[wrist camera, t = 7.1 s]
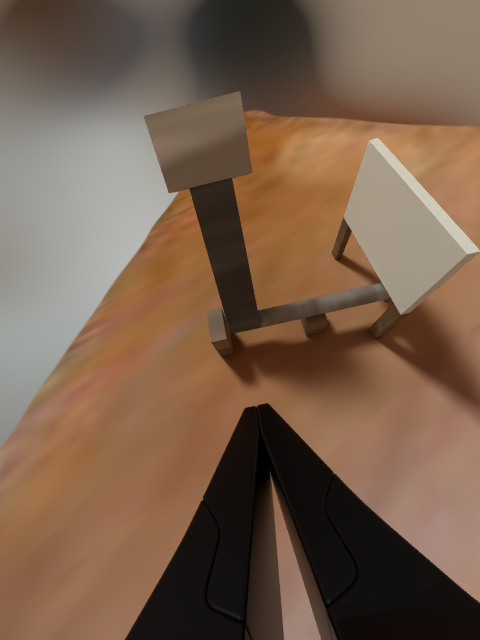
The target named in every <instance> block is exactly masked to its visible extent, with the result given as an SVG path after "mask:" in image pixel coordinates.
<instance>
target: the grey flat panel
mask: <svg viewBox="0 0 480 640" xmlns="http://www.w3.org/2000/svg"><path fill="white" fill-rule="evenodd" d="M344 219H345V220H346V222H347V224H348V226H349V227H350V229H351V231H352V232H353V234H354V236H355V238H356V239H357V241H358V243H359V244H360V246H361V248H362V249H363V251H364V253H365V255H366V256H367V258H368V260H369V261H370V263H371V265H372V267H373V268H374V270H375V272H376V273H377V275H378V277H379V278H380V280H381V282H382V284H383V285H384V287H385V289H386V290H387V292H388V294H389V296H390V297H391V299H392V301H393V302H394V304H395V306H396V308H397V309H398V311H399V313H400V314H401V315H402V314H407V313H410V312H411V311H412V310H413V309H415V308H416V307H417V306H418V305H419V304H420V303H421V302H423V301H424V300H425V299H426V298H427V297H428V296H430V295H431V294H432V293H433V292H434V291H435V290H437V289H438V288H439V287H440V286H441V285H442V284H443V283H445V282H446V281H447V280H448V279H449V278H450V277H452V276H453V275H454V274H455V273H456V272H457V271H459V270H460V269H461V268H462V267H463V266H464V265H465V264H467V263H468V262H469V261H470V260H471V259H472V258H474V257H475V256H476V255H477V254H478V253H479V252H480V250H479V249H478V248H477V247H476V246H475V244H474V243H473V242H472V241H471V240H470V239H469V238H468V237H467V236H466V235H465V233H464V232H463V231H462V230H461V229H460V228H459V227H458V226H457V225H456V223H455V222H454V221H453V220H452V219H451V218H450V217H449V216H448V215H447V214H446V212H445V211H444V210H443V209H442V208H441V207H440V206H439V205H438V204H437V202H436V201H435V200H434V199H433V198H432V197H431V196H430V195H429V194H428V193H427V191H426V190H425V189H424V188H423V187H422V186H421V185H420V184H419V183H418V181H417V180H416V179H415V178H414V177H413V176H412V175H411V174H410V173H409V172H408V170H407V169H406V168H405V167H404V166H403V165H402V164H401V163H400V162H399V160H398V159H397V158H396V157H395V156H394V155H393V154H392V153H391V152H390V151H389V149H388V148H387V147H386V146H385V145H384V144H383V143H382V142H381V141H380V139H379V138H376V139H372V140H369V142H368V145H367V148H366V151H365V154H364V157H363V160H362V163H361V166H360V169H359V172H358V175H357V178H356V181H355V184H354V187H353V190H352V193H351V196H350V199H349V202H348V205H347V208H346V211H345V214H344Z"/></svg>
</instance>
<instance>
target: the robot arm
mask: <svg viewBox="0 0 480 640" xmlns="http://www.w3.org/2000/svg"><path fill="white" fill-rule="evenodd" d="M270 473H271V475H270ZM271 477H272V480H273V484H274V487H275V491H276V494H277V497H278V500H279V504H280V507H281V510H282V513H283V517H284V520H285V523H286V526H287V530H288V533H289V536H290V539H291V543H292V546H293V549H294V552H295V556H296V559H297V562H298V565H299V568H300V572H301V575H302V578H303V581H304V585H305V588H306V591H307V594H308V598H309V601H310V604H311V607H312V611H313V614H314V617H315V620H316V624H317V627H318V630H319V633H320V637H321V640H480V603H479V602H478V601H477V600H475V599H474V598H473V597H472V596H470V595H469V594H468V593H467V592H466V591H464V590H463V589H462V588H461V587H460V586H459V585H457V584H456V583H455V582H454V581H453V580H452V579H450V578H449V577H448V576H447V575H446V574H445V573H443V572H442V571H441V570H440V569H439V568H438V567H436V566H435V565H434V564H433V563H432V562H431V561H430V560H428V559H427V558H426V557H425V556H424V555H423V554H421V553H420V552H419V551H418V550H417V549H416V548H415V547H413V546H412V545H411V544H410V543H409V542H408V541H406V540H405V539H404V538H403V537H402V536H401V535H399V534H398V533H397V532H396V531H395V530H394V529H393V528H391V527H390V526H389V525H388V524H387V523H386V522H385V521H383V520H382V519H381V518H380V517H379V516H378V515H377V514H376V513H375V512H373V511H372V510H371V509H370V508H369V507H368V506H367V505H366V504H365V503H364V502H363V501H362V500H361V499H360V498H359V497H358V496H357V495H356V494H355V493H354V492H353V491H352V490H350V489H349V488H348V487H347V486H346V484H345V483H344V482H343V481H342V480H341V479H340V478H339V477H338V476H337V475H336V474H334V473H333V471H332V470H331V469H330V468H329V467H328V466H327V465H326V464H325V463H324V462H323V460H322V459H321V458H320V457H319V456H318V455H317V454H316V453H315V452H314V451H313V450H312V449H311V448H310V447H309V446H308V445H307V444H306V443H305V442H304V440H303V439H302V438H301V437H300V436H299V435H298V434H297V433H296V432H295V431H294V430H293V429H292V428H291V427H290V426H289V425H288V424H287V423H286V422H285V420H284V419H283V418H282V417H281V416H280V415H279V414H278V413H277V412H276V411H275V410H274V409H273V408H272V407H271V406H270V405H269V404H268V403H266V404H261V405H258V406H257V407H256V406H252V407H247V408H245V409H244V411H243V413H242V415H241V417H240V419H239V421H238V424H237V426H236V428H235V430H234V432H233V434H232V436H231V439H230V441H229V443H228V445H227V447H226V449H225V451H224V454H223V456H222V458H221V460H220V462H219V464H218V466H217V468H216V471H215V473H214V475H213V477H212V479H211V481H210V483H209V486H208V488H207V490H206V492H205V494H204V496H203V500H202V501H201V502H200V504H199V507H198V509H197V511H196V513H195V515H194V517H193V519H192V521H191V523H190V525H189V527H188V529H187V531H186V533H185V535H184V537H183V539H182V541H181V543H180V545H179V546H178V548H177V550H176V552H175V554H174V555H173V557H172V559H171V561H170V563H169V564H168V566H167V568H166V570H165V571H164V573H163V575H162V577H161V578H160V580H159V582H158V583H157V585H156V587H155V589H154V590H153V592H152V594H151V596H150V597H149V599H148V601H147V602H146V604H145V606H144V608H143V609H142V611H141V613H140V615H139V616H138V618H137V620H136V621H135V623H134V625H133V627H132V628H131V630H130V632H129V634H128V635H127V637H126V639H125V640H284V634H283V621H282V608H281V596H280V583H279V570H278V558H277V545H276V533H275V520H274V507H273V495H272V483H271Z"/></svg>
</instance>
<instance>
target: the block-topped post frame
mask: <svg viewBox="0 0 480 640" xmlns="http://www.w3.org/2000/svg"><path fill="white" fill-rule="evenodd" d="M144 118H145V121H146V124H147V127H148V130H149V134H150V137H151V140H152V143H153V146H154V149H155V152H156V155H157V158H158V161H159V164H160V167H161V170H162V173H163V176H164V179H165V183H166V185H167V189H168V192H169V193H172V192H178V191H182V190H186V189H190V192H191V196H192V200H193V203H194V207H195V210H196V214H197V217H198V221H199V224H200V228H201V231H202V235H203V238H204V242H205V246H206V249H207V253H208V256H209V260H210V263H211V267H212V270H213V274H214V277H215V281H216V284H217V288H218V292H219V295H220V299H221V302H222V306H223V309H224V313H225V316H226V320H227V323H228V327H229V330H230V334H233V333H238V332H242V331H248V330H253V329H257V328H262V327H266V326H270V325H275V324H279V323H284V322H288V321H293V320H297V319H302V318H306V317H310V316H315V315H319V314H324V313H328V312H333V311H337V310H342V309H346V308H351V307H355V306H359V305H364V304H368V303H373V302H377V301H382V300H383V301H385V302H389V301H392V299H391V297H390V296H389V294H388V292H387V290H386V289H385V287H384V285H383V284H382V282H381V281H380V282H379V283H378V284H373V285H369V286H365V287H360V288H356V289H351V290H347V291H343V292H338V293H334V294H329V295H325V296H321V297H316V298H312V299H307V300H303V301H299V302H294V303H290V304H285V305H281V306H277V307H272V308H268V309H263V310H259V311H258V310H257V305H256V300H255V295H254V290H253V284H252V279H251V274H250V269H249V264H248V259H247V253H246V248H245V243H244V238H243V233H242V227H241V222H240V217H239V212H238V207H237V202H236V196H235V191H234V186H233V181H232V178H235V177H239V176H243V175H247V174H249V173H252V167H251V161H250V154H249V148H248V141H247V134H246V128H245V121H244V115H243V108H242V101H241V95H240V92H235V93H231V94H228V95H224V96H220V97H216V98H212V99H208V100H204V101H201V102H196V103H193V104H189V105H185V106H181V107H178V108H173V109H169V110H166V111H162V112H158V113H154V114H150V115H146V116H144Z"/></svg>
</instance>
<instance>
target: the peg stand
mask: <svg viewBox="0 0 480 640" xmlns="http://www.w3.org/2000/svg"><path fill="white" fill-rule="evenodd" d="M351 232H352V231H351V229H350V227H349V226H348V224H347V222H346V220H345V219H344V217H343V220H342V223H341V226H340V230H339V233H338V236H337V239H336V242H335V245H334V248H333V251H332V254H333V256H334V258H335V260H336V259H340V258H341V257H342V254H343V252H344V249H345V247H346V244H347V242H348V239H349V237H350V234H351ZM408 314H409V313H407V314H402V315H401V314H400V313H399V311H398V309H397V308H396V306H395V304H394V303H393V304H392V305H391V306H390V307H389V308H388V309H387V310H386V311H385V312H384V313H383V315H382V316H381V317H380V318H379V319H378V320H377V321H376V322H375V323H374V324H373V325H372V326H371V327H370V330H371V332H372V334H373V336H374V338H379V337H382V336H383V335H384V334H386V333H387V332H388V331H389V330H390V329H391V328H393V327H394V326H395V325H396V324H397V323H398V322H399V321H401V320H402V319H403V318H404V317H405V316H406V315H408ZM207 315H208V322H209V330H210V337H211V343H212V344H213V346H214V347H215V348H216V350H217V351H218V353H219V354H220V356H221V357H223V356H227V355H232V354H234V351H233V345H232V340H231V334H230V330H229V327H228V323H227V320H226V318H225V316H224V313H223V311H222V308H217V309H213V310H209V311H207ZM301 322H302V325H303V328H304V331H305V334H306V336H307V335H312V334H316V333H321V332H324V330H325V328H326V326H327V325H328V323H329V322H328V320H327V317H326V315H325V313H324V314H319V315H315V316H310V317H306V318H302V319H301Z"/></svg>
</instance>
